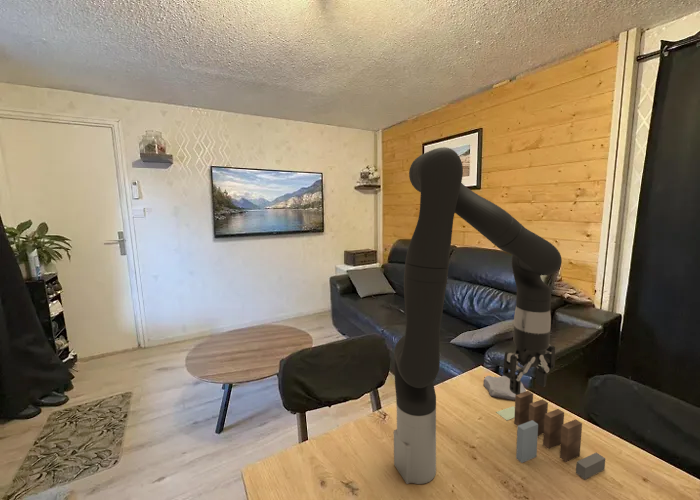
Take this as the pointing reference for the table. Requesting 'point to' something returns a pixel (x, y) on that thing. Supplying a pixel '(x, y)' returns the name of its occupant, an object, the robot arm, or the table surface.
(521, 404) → the domino
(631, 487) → the table surface
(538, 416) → the domino
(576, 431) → the domino
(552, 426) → the domino
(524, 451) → the domino
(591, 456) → the block
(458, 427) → the table surface
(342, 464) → the table surface
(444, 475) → the table surface
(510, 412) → the pad
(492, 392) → the stone block
